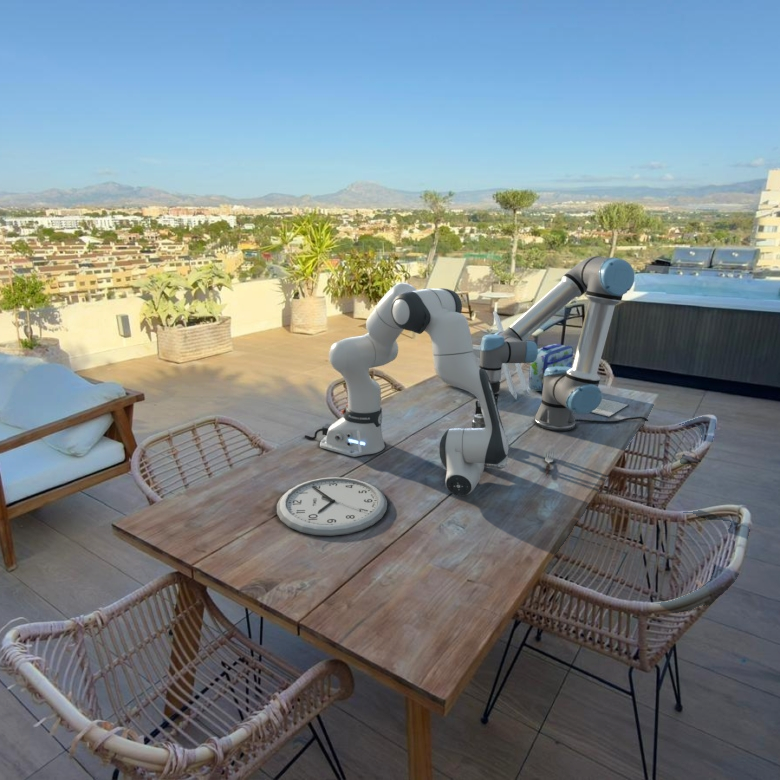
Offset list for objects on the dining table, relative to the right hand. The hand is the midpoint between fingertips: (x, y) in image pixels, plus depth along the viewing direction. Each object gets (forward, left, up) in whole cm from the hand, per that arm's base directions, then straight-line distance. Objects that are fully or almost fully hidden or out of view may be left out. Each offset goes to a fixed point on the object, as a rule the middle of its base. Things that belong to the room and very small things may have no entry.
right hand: (483, 442), depth 187 cm
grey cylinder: (+3, +19, 0) cm, 19 cm away
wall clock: (+43, +51, 0) cm, 67 cm away
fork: (-20, +17, 0) cm, 26 cm away
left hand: (+3, +18, +6) cm, 19 cm away
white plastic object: (-1, -60, 0) cm, 60 cm away
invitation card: (-53, -48, 0) cm, 71 cm away
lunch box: (-35, -72, 0) cm, 80 cm away
